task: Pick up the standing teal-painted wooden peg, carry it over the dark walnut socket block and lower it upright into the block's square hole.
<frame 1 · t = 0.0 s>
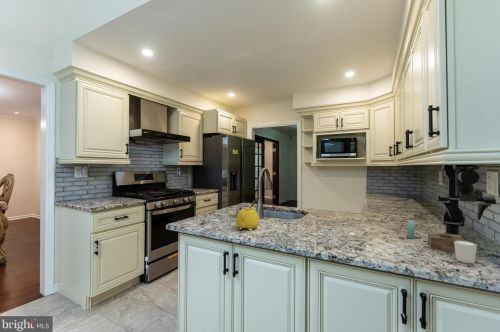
hand: (464, 218, 105), 15 cm above the worktop, fingers open, 9 cm apart
white cup: (465, 260, 96), on the worktop
socket block: (445, 247, 112), on the worktop
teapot: (248, 228, 150), on the worktop
peg: (411, 238, 126), on the worktop
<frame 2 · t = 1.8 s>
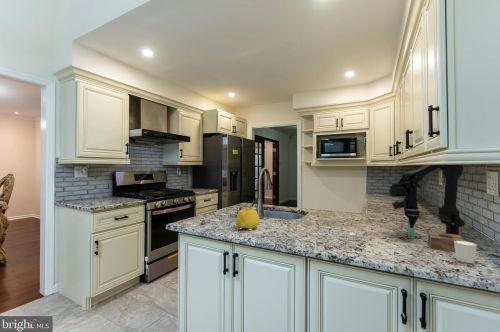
hand: (411, 225, 126), 6 cm above the worktop, fingers open, 9 cm apart
nothing on the worktop moved.
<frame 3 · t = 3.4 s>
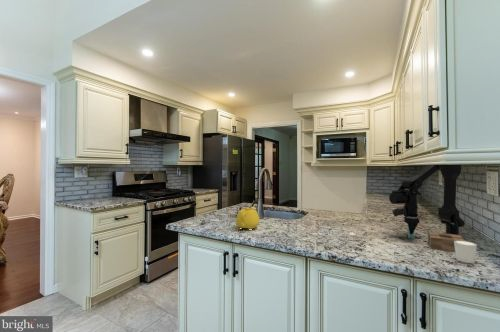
hand: (411, 233, 126), 3 cm above the worktop, fingers closed on peg, 3 cm apart
peg: (411, 238, 126), on the worktop, touching gripper
everything else where it was.
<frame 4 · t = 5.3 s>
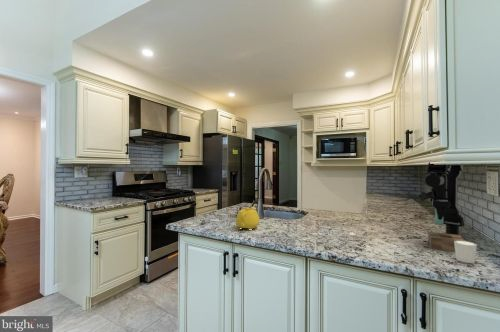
hand: (439, 219, 114), 13 cm above the worktop, fingers closed on peg, 3 cm apart
peg: (439, 224, 114), point 10 cm above the worktop, touching gripper
everything else where it was.
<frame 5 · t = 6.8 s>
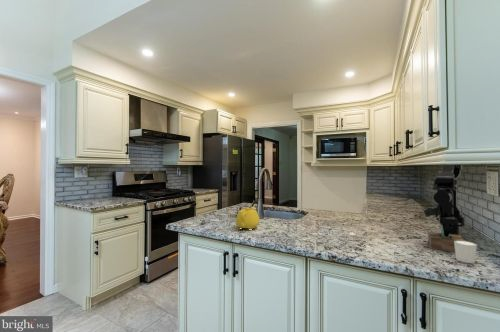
hand: (445, 235, 112), 5 cm above the worktop, fingers closed on peg, 3 cm apart
peg: (445, 241, 112), point 3 cm above the worktop, touching gripper
everything else where it was.
when the fingers open (5 cm above the worktop, at t = 7.6 s): peg drops 3 cm, resting in socket block.
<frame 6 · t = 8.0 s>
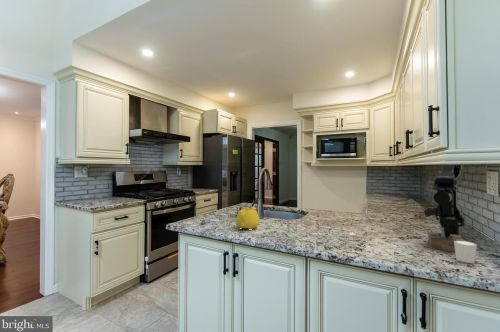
hand: (445, 235, 112), 5 cm above the worktop, fingers open, 7 cm apart
peg: (445, 247, 112), resting in socket block
everything else where it was.
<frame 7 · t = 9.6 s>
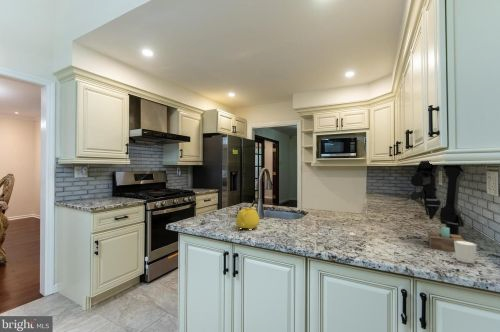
hand: (429, 217, 119), 12 cm above the worktop, fingers open, 9 cm apart
nothing on the worktop moved.
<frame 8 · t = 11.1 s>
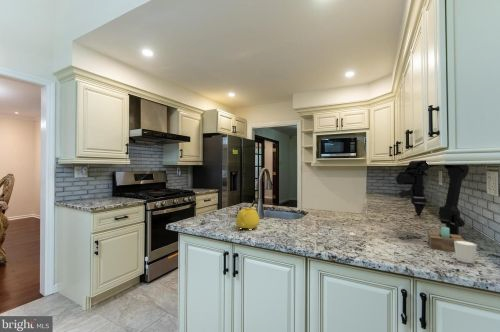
hand: (417, 214, 125), 12 cm above the worktop, fingers open, 9 cm apart
nothing on the worktop moved.
at the end: peg 0.1 cm off-centre on the socket block, point 0.0 cm above the socket block's base; peg tilted 0°; the gripper is holding nothing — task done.
